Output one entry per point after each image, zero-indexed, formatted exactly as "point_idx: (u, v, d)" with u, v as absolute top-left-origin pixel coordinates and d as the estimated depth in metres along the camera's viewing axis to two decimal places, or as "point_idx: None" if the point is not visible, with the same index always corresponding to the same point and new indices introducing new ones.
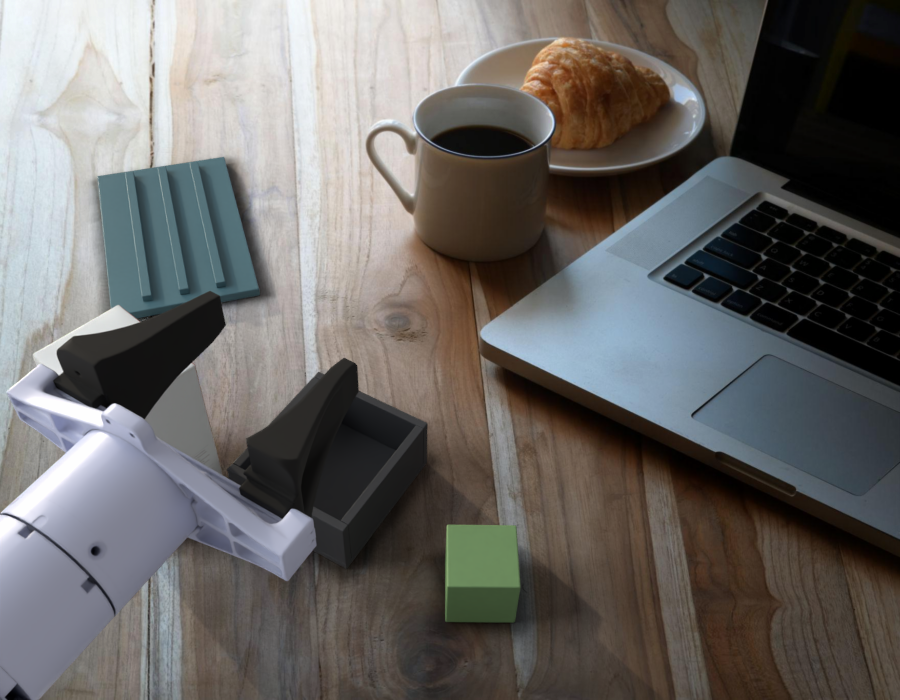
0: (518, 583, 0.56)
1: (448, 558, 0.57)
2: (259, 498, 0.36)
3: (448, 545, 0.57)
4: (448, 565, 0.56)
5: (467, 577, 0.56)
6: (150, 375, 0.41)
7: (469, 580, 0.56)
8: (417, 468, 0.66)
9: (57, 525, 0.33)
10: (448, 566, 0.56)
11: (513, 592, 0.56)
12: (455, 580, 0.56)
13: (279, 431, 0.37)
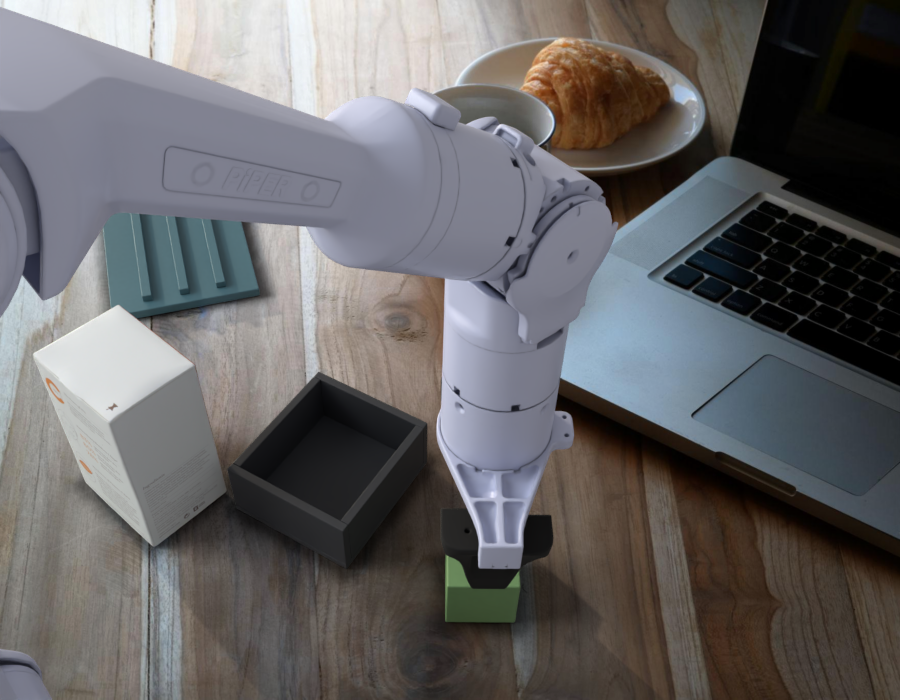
0: (518, 583, 0.56)
1: (448, 558, 0.57)
2: None
3: None
4: (448, 565, 0.56)
5: None
6: None
7: None
8: (417, 468, 0.66)
9: None
10: (448, 566, 0.56)
11: (513, 592, 0.56)
12: (455, 580, 0.56)
13: None
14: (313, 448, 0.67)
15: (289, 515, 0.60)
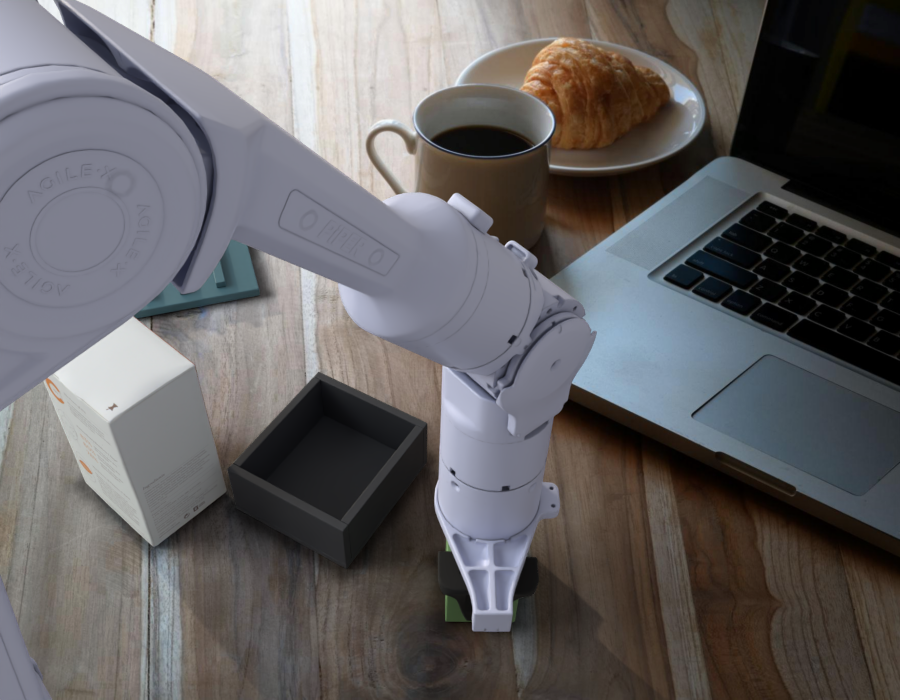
0: None
1: None
2: None
3: (448, 545, 0.57)
4: None
5: None
6: None
7: None
8: (417, 468, 0.66)
9: (545, 463, 0.49)
10: None
11: None
12: None
13: None
14: (313, 448, 0.67)
15: (289, 515, 0.60)
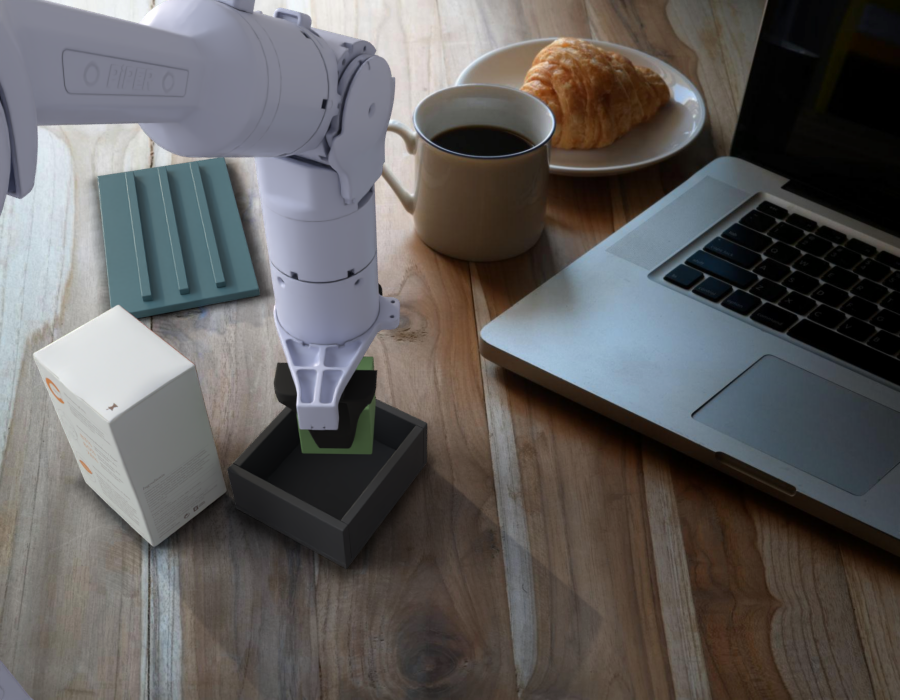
0: (367, 406, 0.55)
1: None
2: None
3: None
4: None
5: None
6: None
7: None
8: (417, 468, 0.66)
9: (375, 262, 0.49)
10: None
11: (363, 416, 0.56)
12: None
13: None
14: None
15: (289, 515, 0.60)
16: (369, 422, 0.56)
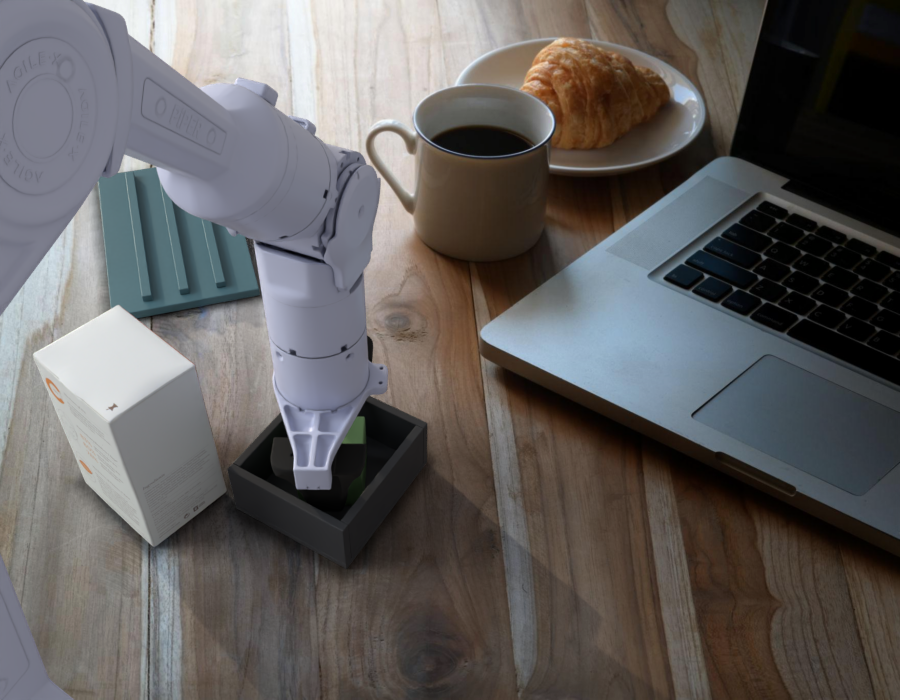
0: None
1: None
2: None
3: None
4: None
5: None
6: None
7: None
8: (417, 468, 0.66)
9: (364, 337, 0.54)
10: None
11: None
12: None
13: None
14: None
15: (289, 515, 0.60)
16: (360, 478, 0.61)
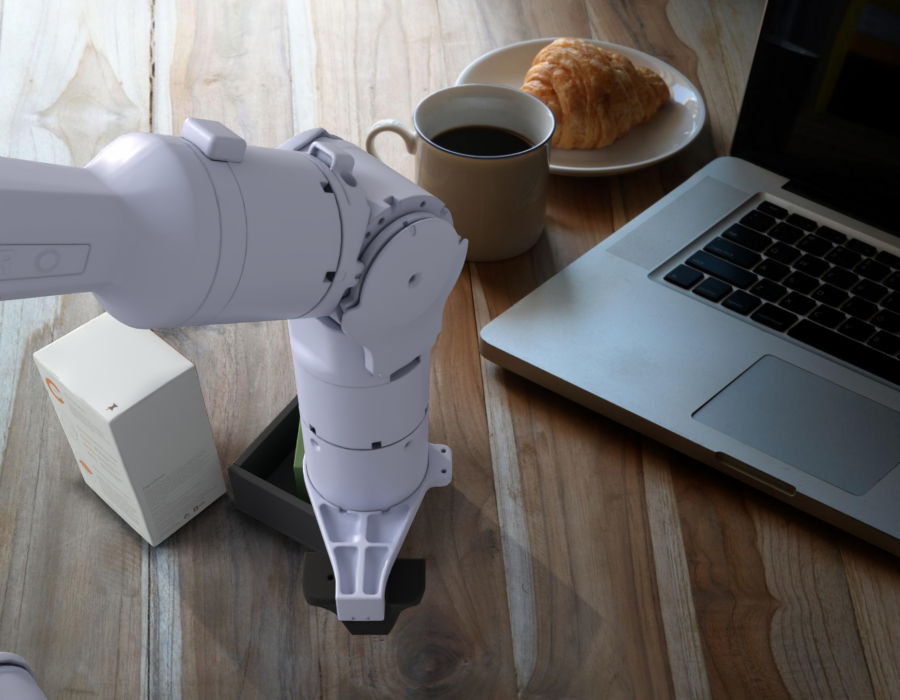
0: None
1: (297, 443, 0.62)
2: None
3: (299, 433, 0.62)
4: (296, 449, 0.62)
5: None
6: None
7: None
8: None
9: (427, 417, 0.41)
10: (296, 450, 0.61)
11: None
12: (301, 461, 0.61)
13: None
14: None
15: (289, 515, 0.60)
16: None
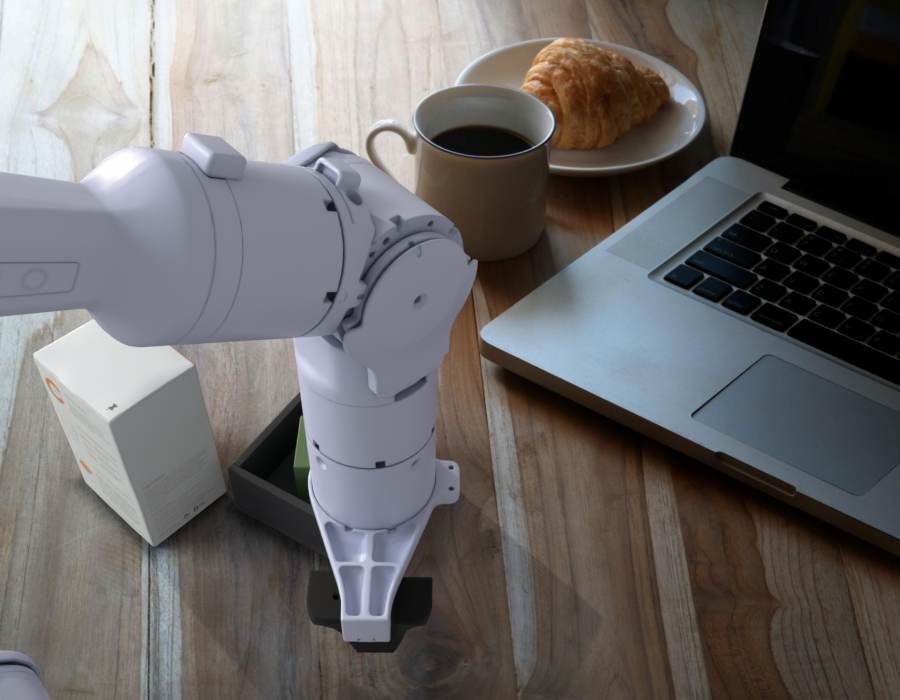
0: None
1: (297, 443, 0.62)
2: None
3: (299, 433, 0.62)
4: (296, 449, 0.62)
5: None
6: None
7: None
8: None
9: (434, 434, 0.40)
10: (296, 450, 0.61)
11: None
12: (301, 461, 0.61)
13: None
14: None
15: (289, 515, 0.60)
16: None
